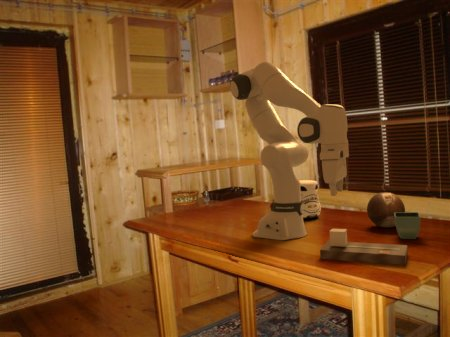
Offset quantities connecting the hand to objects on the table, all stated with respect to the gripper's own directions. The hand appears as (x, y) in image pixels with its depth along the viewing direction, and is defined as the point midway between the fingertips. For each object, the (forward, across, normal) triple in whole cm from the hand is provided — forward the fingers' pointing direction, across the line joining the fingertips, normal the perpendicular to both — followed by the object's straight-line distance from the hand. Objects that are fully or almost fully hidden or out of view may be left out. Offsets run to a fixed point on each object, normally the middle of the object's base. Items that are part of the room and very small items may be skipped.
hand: (336, 193), depth 138 cm
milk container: (+21, -58, -29) cm, 68 cm away
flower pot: (+22, -28, +20) cm, 40 cm away
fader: (+18, 0, 0) cm, 18 cm away
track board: (+21, 0, +8) cm, 23 cm away
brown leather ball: (+21, -44, +11) cm, 50 cm away
